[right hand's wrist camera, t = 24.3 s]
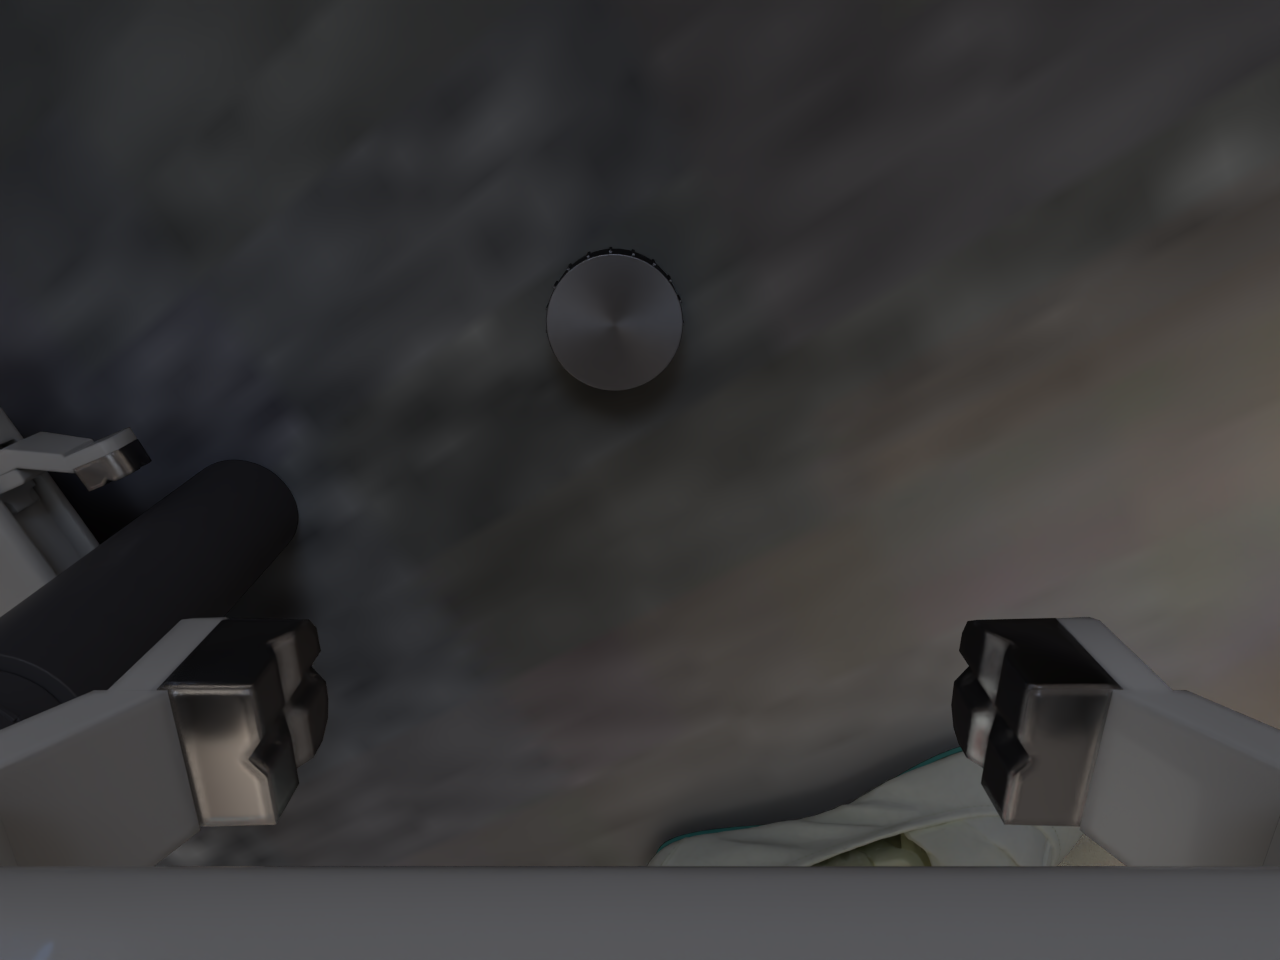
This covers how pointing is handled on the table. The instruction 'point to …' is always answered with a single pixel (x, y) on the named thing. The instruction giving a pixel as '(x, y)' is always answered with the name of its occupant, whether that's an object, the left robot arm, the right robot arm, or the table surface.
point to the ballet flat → (887, 829)
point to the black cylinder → (143, 586)
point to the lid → (614, 319)
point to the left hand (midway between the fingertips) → (204, 555)
